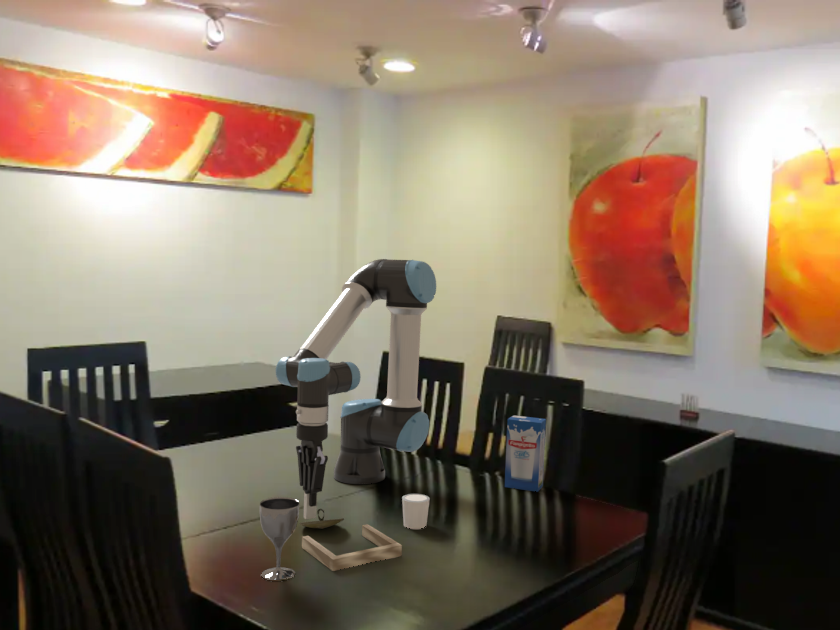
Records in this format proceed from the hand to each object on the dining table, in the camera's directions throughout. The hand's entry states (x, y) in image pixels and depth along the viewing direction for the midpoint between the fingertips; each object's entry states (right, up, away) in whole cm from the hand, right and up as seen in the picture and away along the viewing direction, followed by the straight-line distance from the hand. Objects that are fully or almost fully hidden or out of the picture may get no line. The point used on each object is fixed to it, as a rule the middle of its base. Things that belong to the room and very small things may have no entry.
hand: (309, 517), depth 192 cm
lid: (+3, -2, -4) cm, 5 cm away
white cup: (+26, -3, +2) cm, 26 cm away
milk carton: (+57, -1, +37) cm, 68 cm away
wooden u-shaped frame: (+11, -3, -16) cm, 20 cm away
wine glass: (-2, -4, -30) cm, 31 cm away
